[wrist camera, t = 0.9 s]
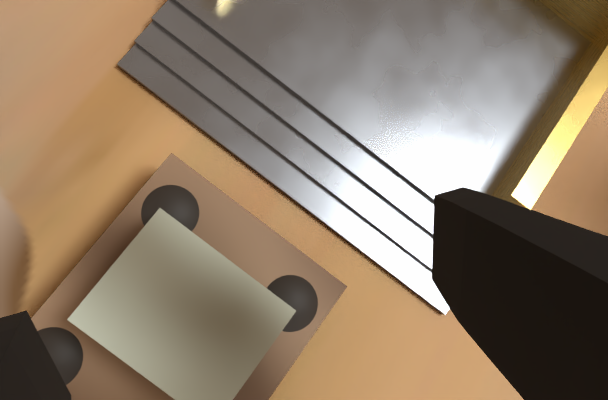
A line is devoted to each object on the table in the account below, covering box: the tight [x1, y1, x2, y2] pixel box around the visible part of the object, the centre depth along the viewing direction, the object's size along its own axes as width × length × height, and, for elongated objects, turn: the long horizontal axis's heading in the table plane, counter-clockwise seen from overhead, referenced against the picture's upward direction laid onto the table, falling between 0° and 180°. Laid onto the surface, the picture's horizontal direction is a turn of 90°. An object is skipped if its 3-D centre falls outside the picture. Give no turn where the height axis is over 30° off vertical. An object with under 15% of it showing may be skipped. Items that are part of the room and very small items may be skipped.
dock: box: [117, 0, 608, 315], centre depth 23 cm, size 16×18×4 cm
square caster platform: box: [31, 153, 347, 400], centre depth 19 cm, size 10×9×5 cm
